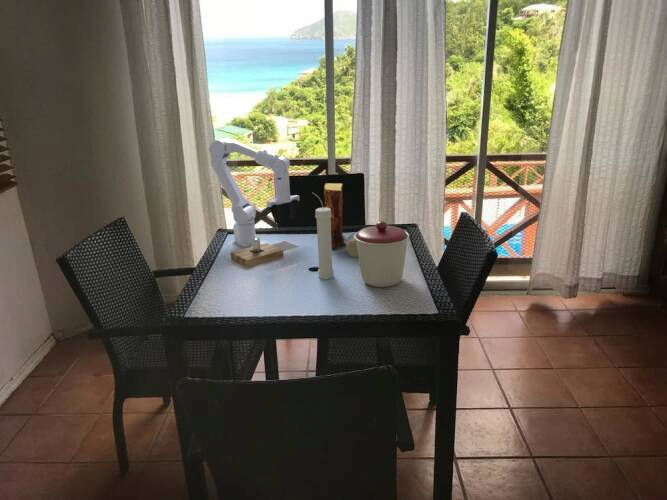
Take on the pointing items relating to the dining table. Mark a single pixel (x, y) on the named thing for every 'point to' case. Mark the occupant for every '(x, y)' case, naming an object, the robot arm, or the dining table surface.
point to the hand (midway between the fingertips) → (284, 220)
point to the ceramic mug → (352, 246)
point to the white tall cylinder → (324, 242)
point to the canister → (381, 254)
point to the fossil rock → (335, 212)
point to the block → (256, 255)
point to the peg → (256, 245)
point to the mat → (285, 245)
